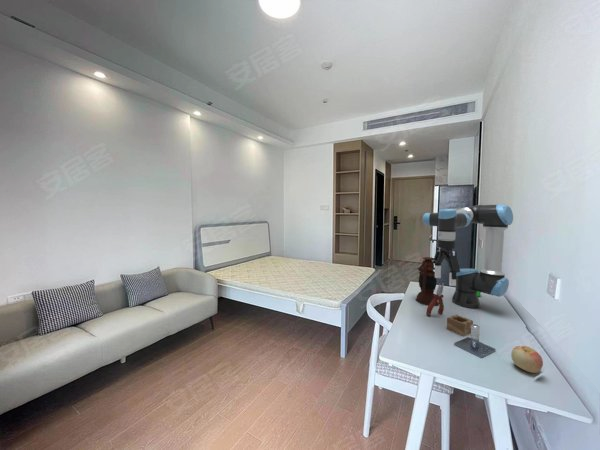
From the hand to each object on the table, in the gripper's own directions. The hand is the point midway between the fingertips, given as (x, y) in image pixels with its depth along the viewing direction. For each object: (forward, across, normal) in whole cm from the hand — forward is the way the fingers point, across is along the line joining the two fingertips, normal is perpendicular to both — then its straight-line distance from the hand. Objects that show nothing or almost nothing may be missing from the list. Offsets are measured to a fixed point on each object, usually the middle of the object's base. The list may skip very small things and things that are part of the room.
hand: (444, 281), depth 122 cm
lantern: (+25, -36, +9) cm, 45 cm away
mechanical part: (+25, -57, +50) cm, 80 cm away
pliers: (+25, -16, +4) cm, 30 cm away
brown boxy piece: (+25, +2, +7) cm, 26 cm away
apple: (+25, +31, +15) cm, 42 cm away
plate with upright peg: (+25, +17, +5) cm, 30 cm away
